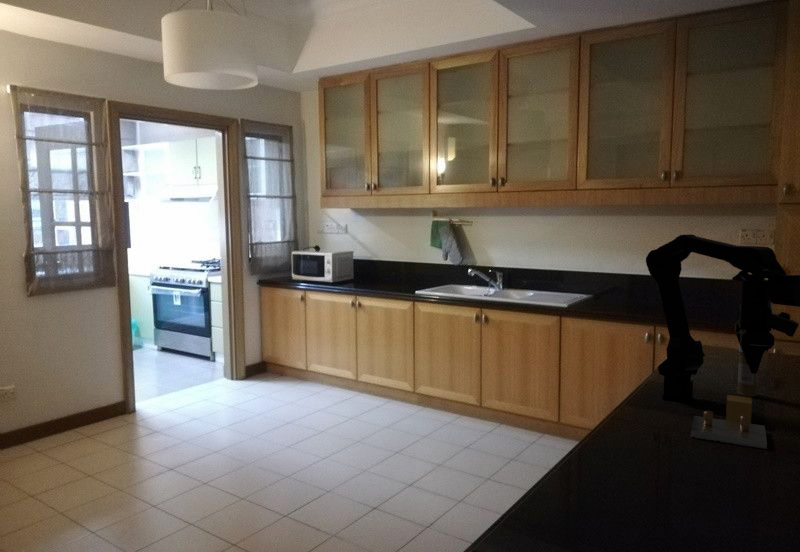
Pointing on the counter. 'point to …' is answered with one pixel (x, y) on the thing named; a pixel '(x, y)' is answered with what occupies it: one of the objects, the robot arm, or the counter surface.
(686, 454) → the counter surface
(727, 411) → the tan cardboard box
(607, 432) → the counter surface
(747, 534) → the counter surface
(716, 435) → the plate
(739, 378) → the sprinkles bottle
